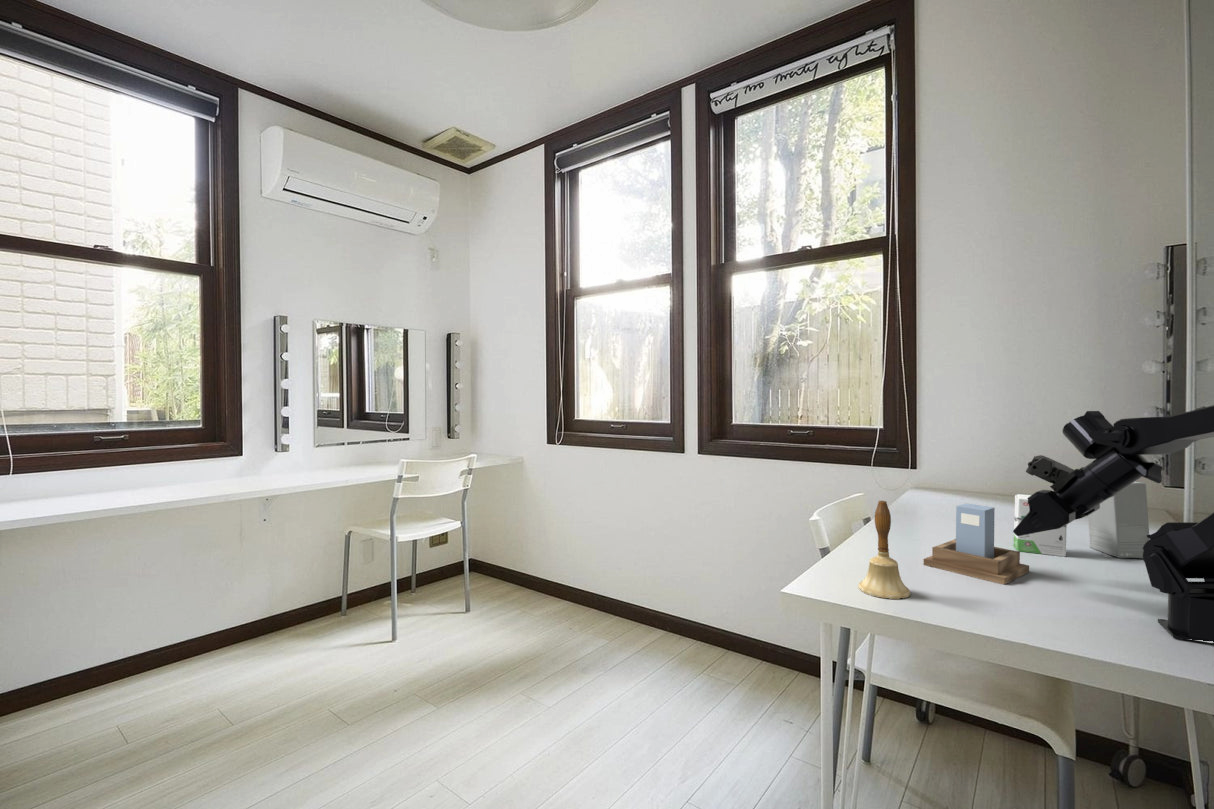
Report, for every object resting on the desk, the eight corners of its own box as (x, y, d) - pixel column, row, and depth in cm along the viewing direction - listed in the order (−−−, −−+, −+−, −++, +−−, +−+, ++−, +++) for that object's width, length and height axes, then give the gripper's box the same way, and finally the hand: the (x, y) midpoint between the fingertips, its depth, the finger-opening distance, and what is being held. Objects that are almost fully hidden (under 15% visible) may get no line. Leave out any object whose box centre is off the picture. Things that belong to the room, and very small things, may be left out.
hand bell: (870, 599, 93) (871, 506, 92) (850, 582, 101) (850, 496, 101) (920, 599, 93) (920, 506, 92) (895, 582, 101) (896, 496, 101)
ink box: (1016, 551, 119) (1017, 497, 119) (1013, 545, 124) (1013, 493, 123) (1067, 557, 115) (1068, 501, 115) (1062, 551, 119) (1062, 497, 119)
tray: (1004, 584, 99) (1004, 564, 99) (923, 564, 111) (923, 546, 111) (1029, 571, 106) (1029, 552, 106) (950, 554, 118) (950, 537, 118)
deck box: (984, 567, 105) (984, 510, 105) (955, 561, 109) (956, 506, 109) (994, 563, 108) (994, 507, 107) (965, 556, 112) (966, 503, 112)
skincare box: (1151, 560, 113) (1153, 483, 112) (1112, 558, 114) (1113, 482, 113) (1120, 548, 121) (1121, 476, 121) (1083, 546, 122) (1085, 476, 122)
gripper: (1077, 438, 102) (1007, 489, 111) (1043, 444, 91) (968, 500, 100) (1134, 486, 96) (1055, 536, 105) (1105, 498, 85) (1019, 553, 94)
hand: (1024, 529), depth 101 cm, fingers open, 9 cm apart
